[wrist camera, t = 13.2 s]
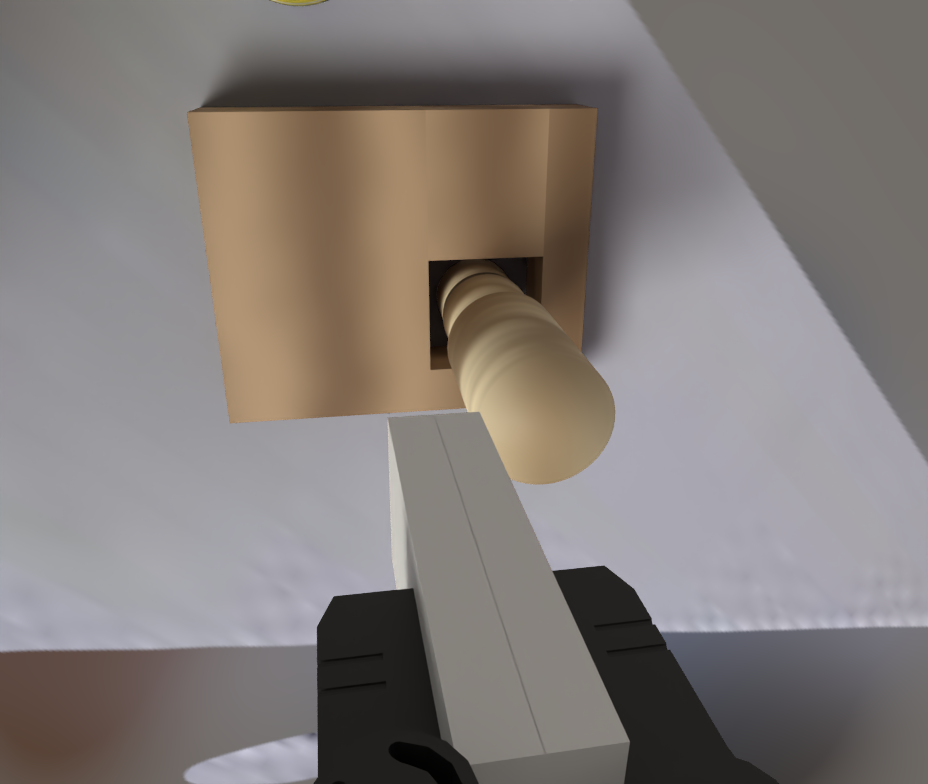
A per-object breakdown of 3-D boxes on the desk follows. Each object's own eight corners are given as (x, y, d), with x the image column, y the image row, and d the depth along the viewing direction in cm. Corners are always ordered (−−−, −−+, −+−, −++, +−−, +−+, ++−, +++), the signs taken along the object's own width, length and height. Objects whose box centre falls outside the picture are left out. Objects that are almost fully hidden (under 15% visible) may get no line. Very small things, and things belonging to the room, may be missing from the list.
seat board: (237, 395, 37) (229, 423, 34) (199, 107, 31) (186, 112, 29) (561, 376, 39) (578, 400, 36) (576, 104, 33) (597, 108, 31)
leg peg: (428, 340, 37) (476, 489, 24) (427, 251, 35) (477, 361, 22) (517, 336, 37) (609, 478, 25) (520, 247, 36) (620, 352, 23)
